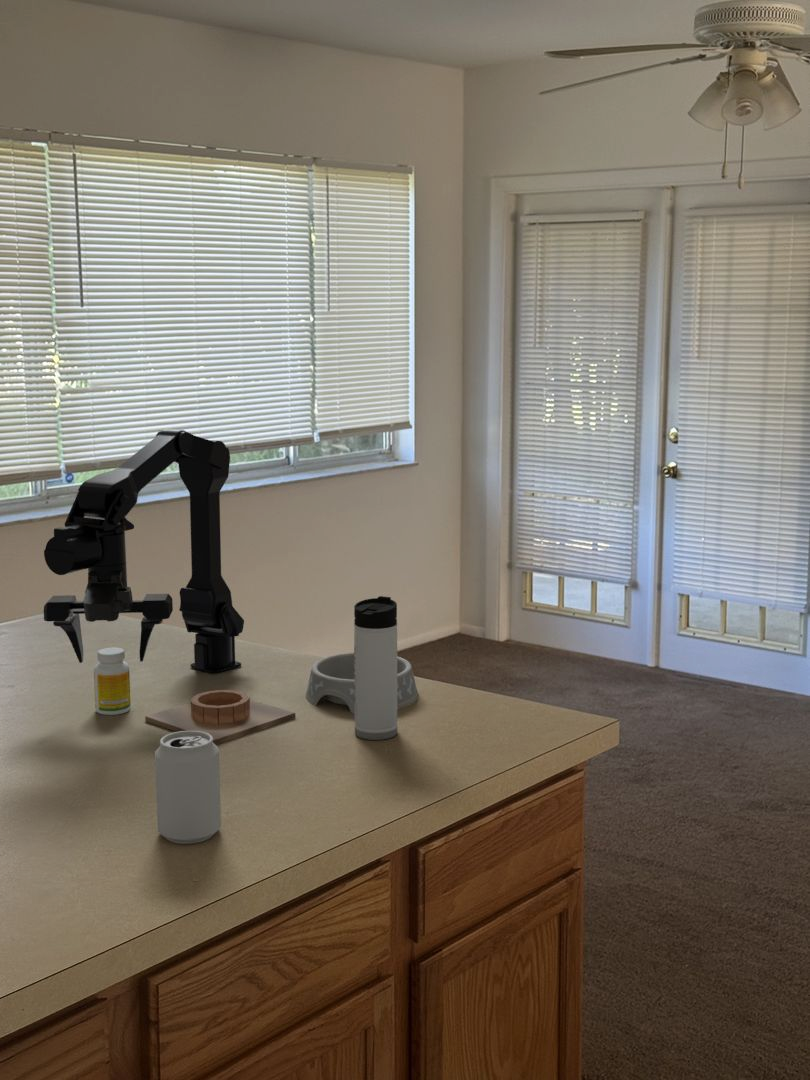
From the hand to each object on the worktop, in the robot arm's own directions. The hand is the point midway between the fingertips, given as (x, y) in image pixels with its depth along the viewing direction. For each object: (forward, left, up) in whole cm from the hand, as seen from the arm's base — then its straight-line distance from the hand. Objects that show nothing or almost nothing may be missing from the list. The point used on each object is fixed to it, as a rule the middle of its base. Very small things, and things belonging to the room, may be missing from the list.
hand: (111, 661), depth 194 cm
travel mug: (-19, +38, -8) cm, 43 cm away
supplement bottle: (0, 0, -8) cm, 8 cm away
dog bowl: (-31, +24, -8) cm, 40 cm away
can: (+22, +45, -8) cm, 51 cm away
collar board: (-8, +16, -8) cm, 19 cm away
